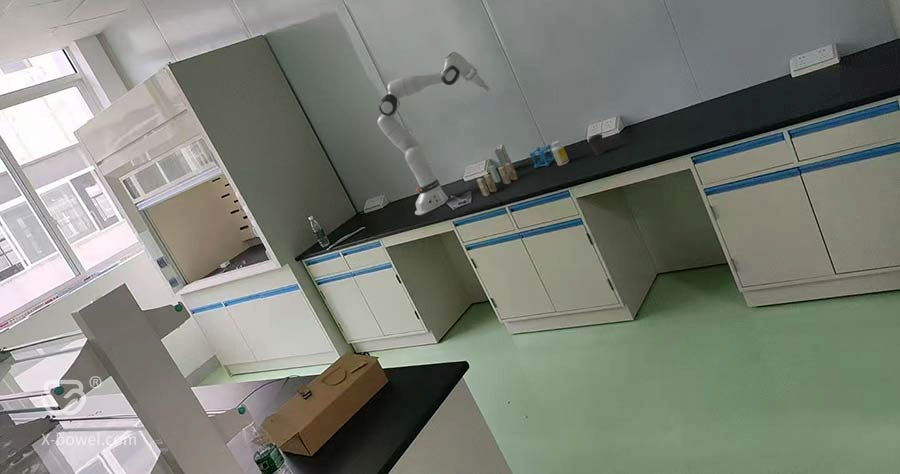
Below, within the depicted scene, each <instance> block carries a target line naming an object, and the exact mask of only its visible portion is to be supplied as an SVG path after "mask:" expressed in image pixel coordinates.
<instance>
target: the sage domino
mask: <svg viewBox="0 0 900 474" xmlns="http://www.w3.org/2000/svg"><path fill="white" fill-rule="evenodd" d="M487 168H488V171H489V173H490V175H491V177H492V179H493V182H494V183H500V182H501V181H502V179H501V178H500V177H501V176H500V175H499V173H498V170H497V168H496V166H495V165H489V166H488V167H487Z"/></svg>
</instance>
